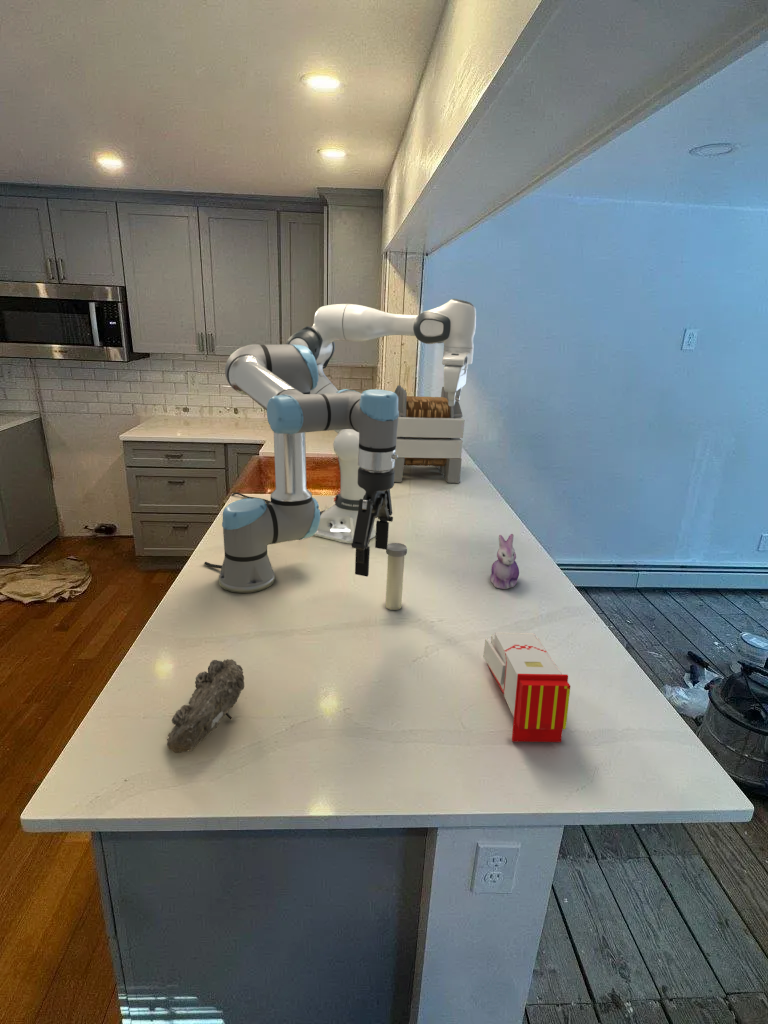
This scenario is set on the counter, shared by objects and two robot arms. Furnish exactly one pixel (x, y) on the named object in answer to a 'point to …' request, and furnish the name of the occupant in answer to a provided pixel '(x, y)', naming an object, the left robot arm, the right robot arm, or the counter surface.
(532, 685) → the toy
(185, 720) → the fossil
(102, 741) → the counter surface
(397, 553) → the lid
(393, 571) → the jar
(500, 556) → the figurine
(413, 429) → the transformer
